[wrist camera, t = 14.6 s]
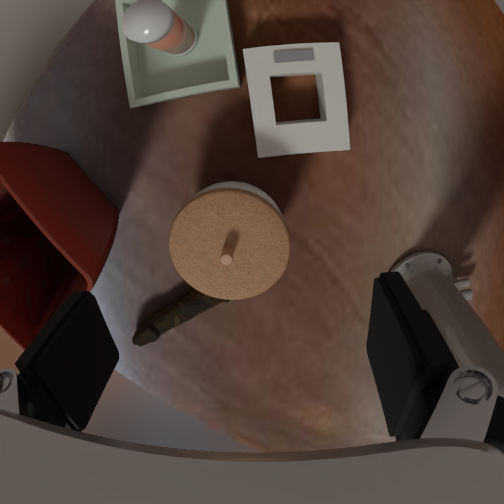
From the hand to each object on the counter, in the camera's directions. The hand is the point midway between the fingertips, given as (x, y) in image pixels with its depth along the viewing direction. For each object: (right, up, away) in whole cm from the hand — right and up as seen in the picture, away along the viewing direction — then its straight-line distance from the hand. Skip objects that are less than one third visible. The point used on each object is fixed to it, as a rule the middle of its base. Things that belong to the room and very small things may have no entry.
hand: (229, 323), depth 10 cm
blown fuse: (-7, +26, +20) cm, 33 cm away
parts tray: (-7, +27, +20) cm, 34 cm away
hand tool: (-10, -6, +38) cm, 40 cm away
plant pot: (-26, +9, +31) cm, 41 cm away
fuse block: (+6, +20, +24) cm, 31 cm away
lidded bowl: (-1, +7, +31) cm, 32 cm away
